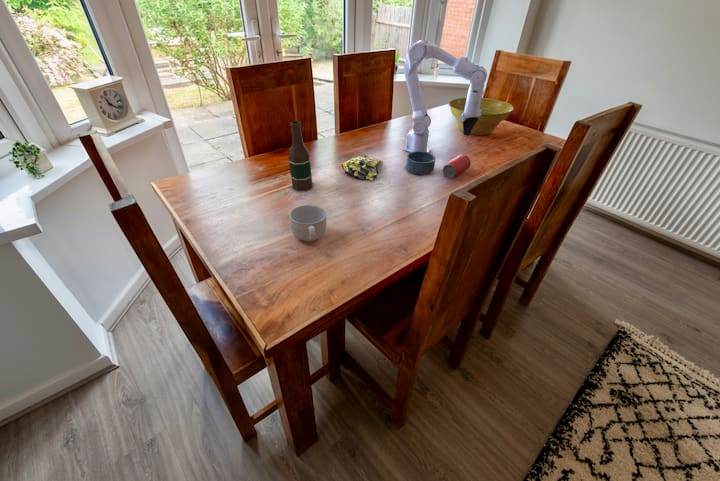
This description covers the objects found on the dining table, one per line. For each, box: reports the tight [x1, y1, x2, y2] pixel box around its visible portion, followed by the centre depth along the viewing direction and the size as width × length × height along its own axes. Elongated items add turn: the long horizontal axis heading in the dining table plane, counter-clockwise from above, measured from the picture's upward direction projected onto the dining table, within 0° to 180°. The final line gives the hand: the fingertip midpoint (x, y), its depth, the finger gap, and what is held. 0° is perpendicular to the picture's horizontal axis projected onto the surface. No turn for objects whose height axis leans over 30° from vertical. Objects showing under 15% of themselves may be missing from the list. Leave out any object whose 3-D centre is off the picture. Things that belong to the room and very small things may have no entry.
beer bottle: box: [288, 120, 313, 192], centre depth 115 cm, size 8×8×24 cm
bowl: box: [405, 151, 437, 175], centre depth 133 cm, size 12×12×6 cm
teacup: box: [288, 204, 328, 242], centre depth 94 cm, size 14×11×8 cm
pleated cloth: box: [341, 153, 382, 182], centre depth 134 cm, size 20×16×7 cm
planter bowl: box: [447, 97, 515, 136], centre depth 168 cm, size 32×32×13 cm
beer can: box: [442, 154, 472, 179], centre depth 129 cm, size 7×7×12 cm
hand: (466, 134), depth 138 cm, fingers closed
